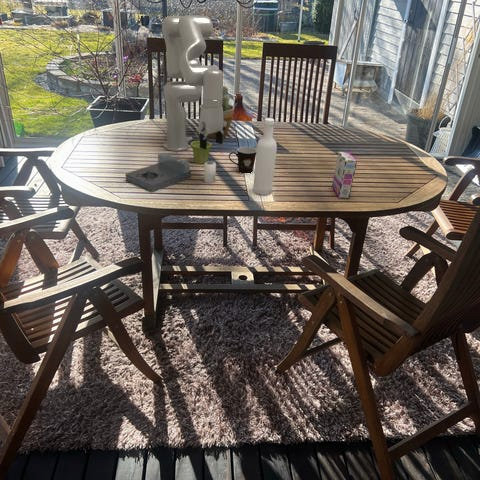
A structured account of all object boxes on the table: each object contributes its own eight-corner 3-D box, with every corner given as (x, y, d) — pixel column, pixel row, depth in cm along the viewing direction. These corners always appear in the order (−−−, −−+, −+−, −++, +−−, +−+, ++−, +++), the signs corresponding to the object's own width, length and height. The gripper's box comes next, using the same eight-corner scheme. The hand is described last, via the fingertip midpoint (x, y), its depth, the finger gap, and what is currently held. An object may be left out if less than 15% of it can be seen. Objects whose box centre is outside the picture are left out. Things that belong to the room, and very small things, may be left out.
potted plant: (232, 141, 241) (235, 93, 229) (197, 139, 241) (198, 90, 229) (233, 131, 257) (235, 85, 245) (200, 129, 257) (201, 83, 244)
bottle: (266, 197, 183) (273, 123, 168) (249, 191, 187) (255, 119, 172) (275, 191, 189) (283, 119, 174) (259, 186, 193) (265, 115, 178)
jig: (165, 167, 204) (164, 152, 200) (191, 177, 196) (191, 162, 192) (126, 180, 189) (125, 164, 185) (152, 192, 180) (151, 175, 177)
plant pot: (214, 161, 215) (215, 143, 211) (204, 167, 207) (205, 148, 203) (197, 157, 218) (197, 139, 214) (186, 162, 211) (187, 144, 206)
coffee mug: (257, 169, 209) (259, 148, 204) (251, 176, 202) (253, 154, 197) (233, 165, 212) (234, 144, 207) (226, 171, 205) (228, 150, 200)
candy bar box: (350, 199, 187) (357, 161, 179) (338, 198, 187) (345, 160, 179) (342, 187, 197) (349, 151, 189) (331, 187, 197) (337, 151, 188)
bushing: (209, 178, 197) (209, 160, 193) (217, 181, 194) (218, 163, 190) (201, 181, 193) (202, 163, 189) (210, 184, 191) (210, 166, 187)
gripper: (219, 98, 185) (218, 139, 194) (190, 104, 173) (189, 148, 181) (233, 101, 181) (231, 143, 190) (204, 108, 169) (203, 152, 178)
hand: (211, 145), depth 186 cm, fingers open, 9 cm apart
